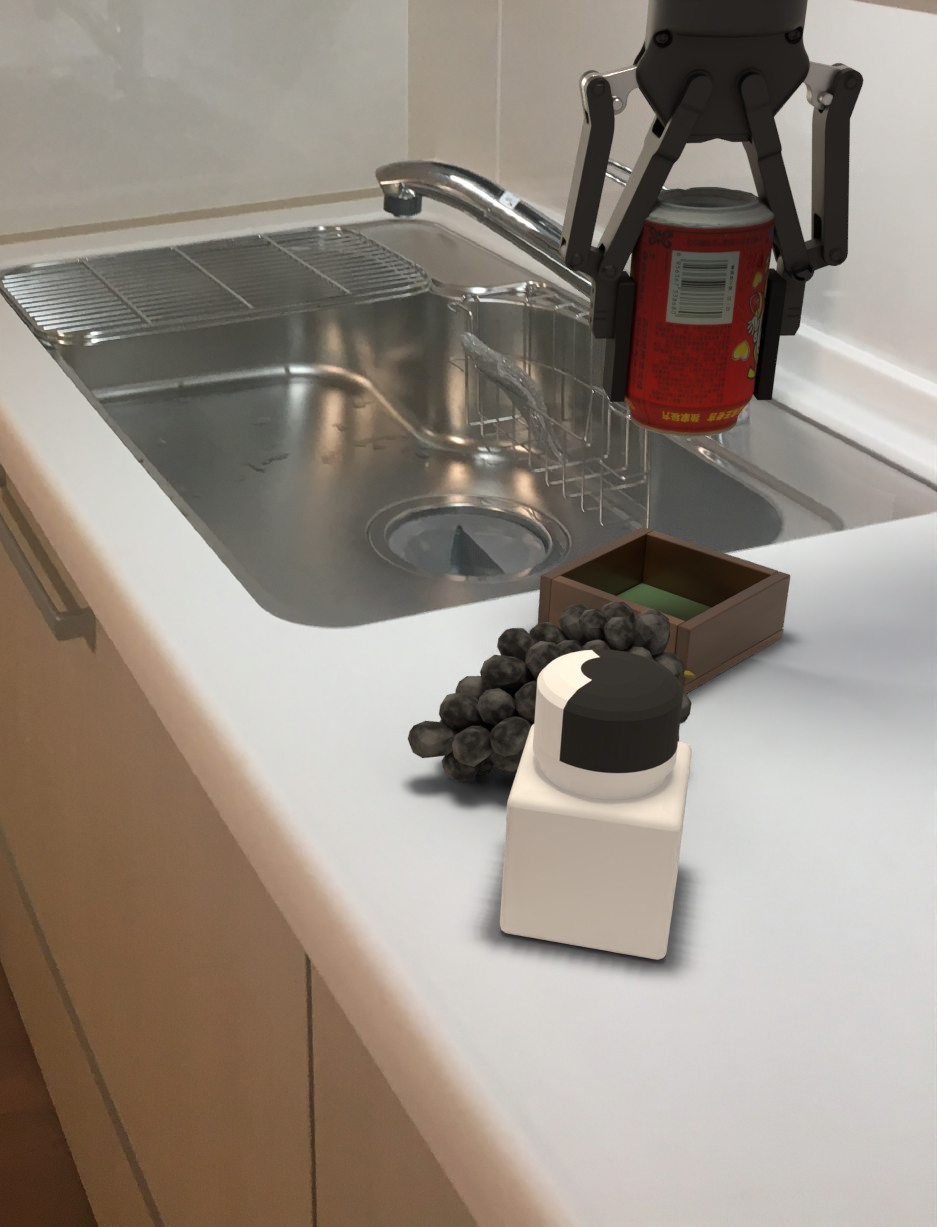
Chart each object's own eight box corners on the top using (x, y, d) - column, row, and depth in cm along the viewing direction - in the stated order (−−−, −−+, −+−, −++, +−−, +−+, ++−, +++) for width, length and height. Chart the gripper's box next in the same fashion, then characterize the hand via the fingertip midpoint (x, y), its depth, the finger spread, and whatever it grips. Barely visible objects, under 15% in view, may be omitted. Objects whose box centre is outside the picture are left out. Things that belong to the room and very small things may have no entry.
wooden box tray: (782, 637, 99) (791, 574, 97) (682, 696, 93) (690, 630, 91) (637, 586, 106) (643, 526, 104) (536, 637, 100) (540, 575, 98)
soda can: (768, 439, 89) (797, 208, 84) (635, 444, 90) (655, 214, 84) (728, 396, 96) (753, 179, 90) (604, 401, 96) (621, 184, 91)
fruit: (425, 647, 80) (713, 597, 82) (369, 627, 88) (633, 582, 90) (445, 823, 81) (729, 768, 84) (388, 786, 89) (648, 737, 92)
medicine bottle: (677, 872, 78) (704, 643, 73) (664, 964, 72) (692, 722, 67) (523, 848, 80) (538, 624, 75) (498, 935, 74) (512, 698, 69)
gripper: (535, -41, 79) (508, 418, 90) (973, -56, 78) (895, 414, 88) (516, -55, 86) (493, 373, 96) (919, -69, 84) (853, 369, 95)
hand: (685, 392), depth 92 cm, fingers closed on soda can, 7 cm apart
